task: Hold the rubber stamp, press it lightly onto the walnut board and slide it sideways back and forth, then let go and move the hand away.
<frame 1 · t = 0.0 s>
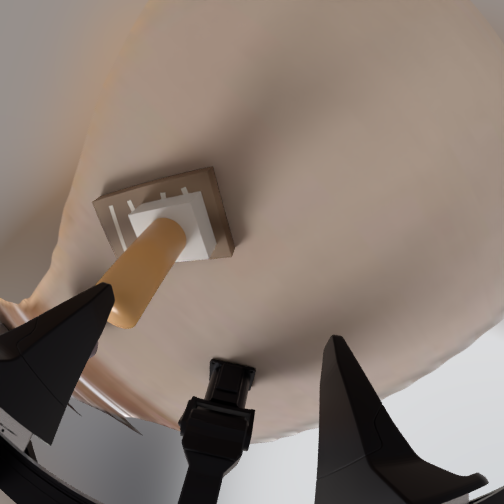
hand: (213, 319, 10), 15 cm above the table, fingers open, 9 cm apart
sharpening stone: (7, 333, 58), on the table
walnut board: (161, 220, 25), on the table
rubber stamp: (177, 223, 24), point 2 cm above the table, touching walnut board
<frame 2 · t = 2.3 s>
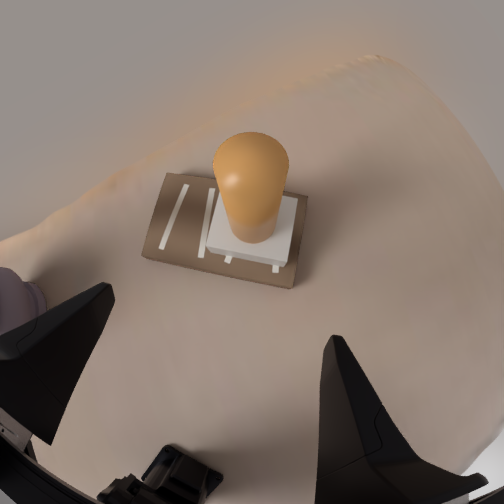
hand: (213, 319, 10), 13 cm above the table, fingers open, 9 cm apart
grey stacked rounded piece: (31, 310, 23), on the table
walnut board: (225, 229, 24), on the table
rubber stamp: (253, 230, 23), point 2 cm above the table, touching walnut board
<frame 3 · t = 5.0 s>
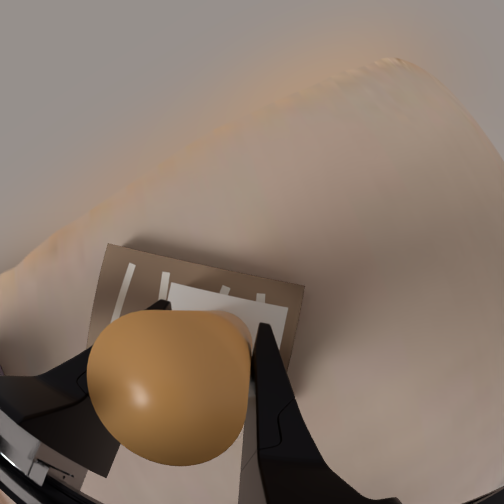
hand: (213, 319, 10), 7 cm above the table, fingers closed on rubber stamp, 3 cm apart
walnut board: (188, 327, 17), on the table
rubber stamp: (223, 339, 15), point 2 cm above the table, touching gripper, walnut board
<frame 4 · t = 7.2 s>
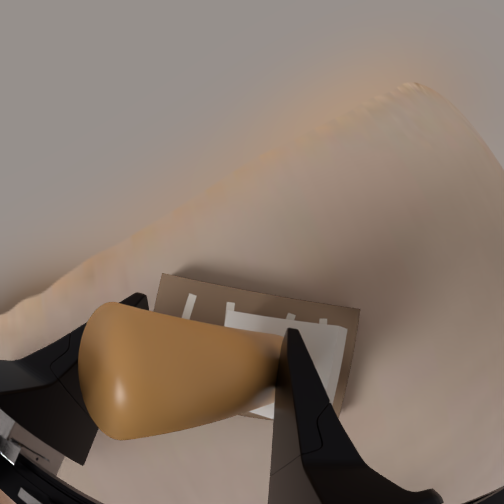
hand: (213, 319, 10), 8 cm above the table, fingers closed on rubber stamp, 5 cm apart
walnut board: (249, 353, 17), on the table
rubber stamp: (287, 365, 14), point 3 cm above the table, tilted 30°, touching gripper, walnut board
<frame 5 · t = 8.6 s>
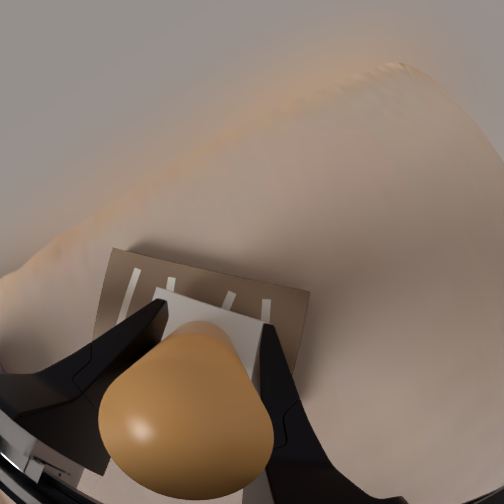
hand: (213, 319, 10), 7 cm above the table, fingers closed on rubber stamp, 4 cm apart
walnut board: (193, 332, 17), on the table
rubber stamp: (201, 346, 15), point 2 cm above the table, tilted 10°, touching gripper, walnut board
when the fingers open (7 cm above the table, at t = 10.7 s): rubber stamp stays where it is, resting on walnut board.
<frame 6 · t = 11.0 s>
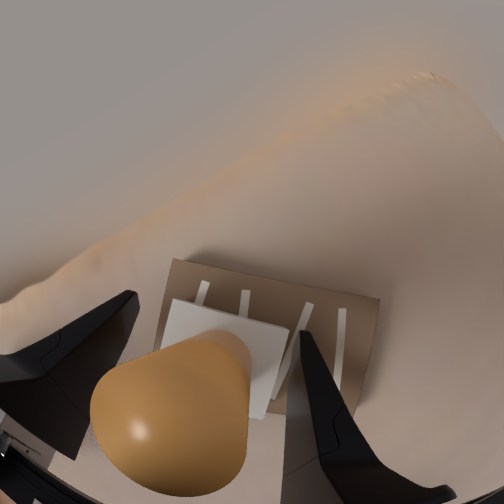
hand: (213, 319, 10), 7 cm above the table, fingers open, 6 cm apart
walnut board: (264, 344, 17), on the table
rubber stamp: (222, 355, 15), point 2 cm above the table, touching walnut board
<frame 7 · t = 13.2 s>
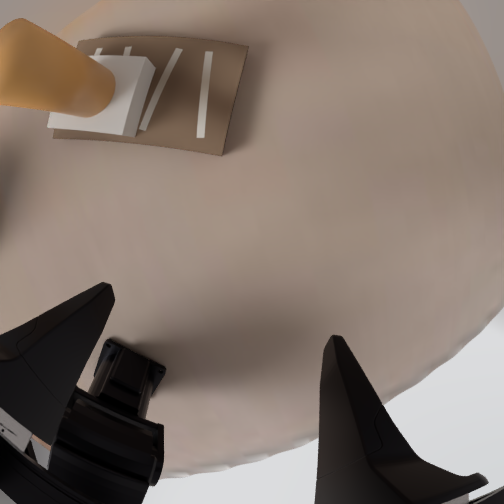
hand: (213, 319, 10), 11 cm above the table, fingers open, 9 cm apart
walnut board: (145, 90, 16), on the table
rubber stamp: (106, 97, 14), point 2 cm above the table, touching walnut board
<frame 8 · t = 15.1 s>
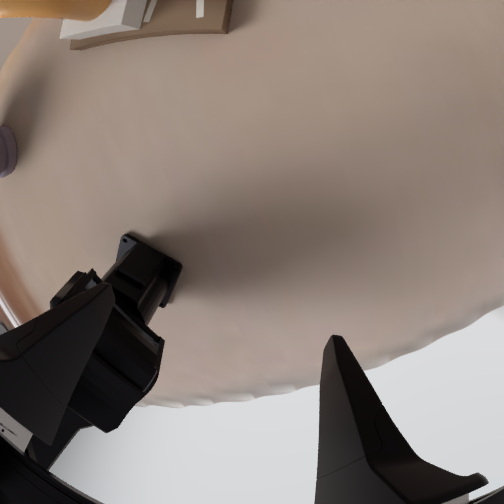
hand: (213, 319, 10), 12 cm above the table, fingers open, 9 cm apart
grey stacked rounded piece: (6, 150, 20), on the table
rubber stamp: (113, 6, 11), point 2 cm above the table, touching walnut board
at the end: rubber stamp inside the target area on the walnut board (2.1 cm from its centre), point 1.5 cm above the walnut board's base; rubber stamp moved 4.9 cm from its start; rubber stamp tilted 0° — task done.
